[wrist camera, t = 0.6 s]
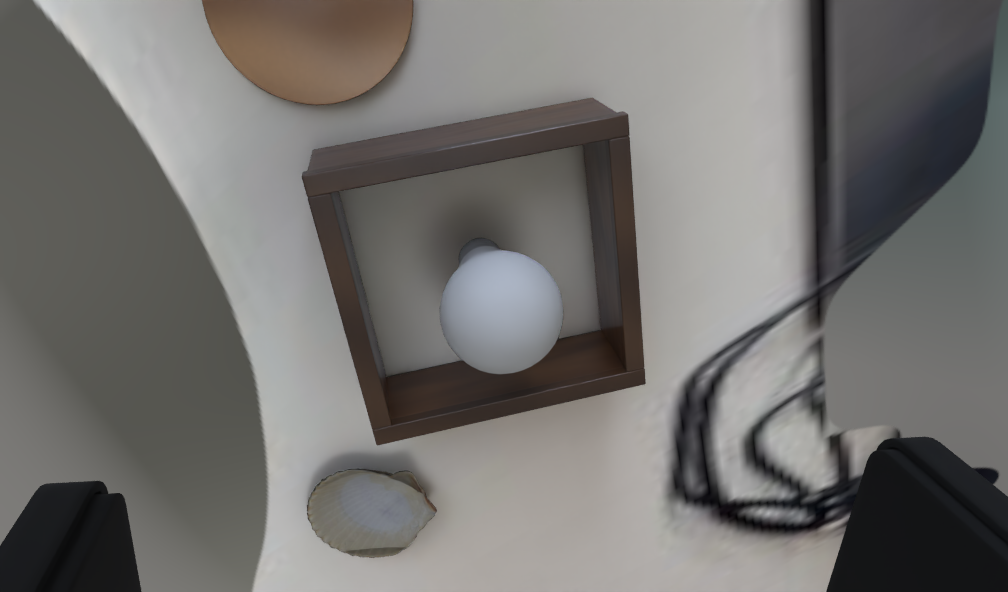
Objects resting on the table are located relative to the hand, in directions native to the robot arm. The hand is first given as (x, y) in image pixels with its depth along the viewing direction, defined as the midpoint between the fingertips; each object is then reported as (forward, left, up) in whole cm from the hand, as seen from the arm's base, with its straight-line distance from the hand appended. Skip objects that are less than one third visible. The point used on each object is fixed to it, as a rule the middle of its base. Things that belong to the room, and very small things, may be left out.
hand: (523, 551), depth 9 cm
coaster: (-5, -3, -33) cm, 33 cm away
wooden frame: (+10, +3, -33) cm, 34 cm away
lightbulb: (+10, +3, -33) cm, 34 cm away
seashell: (+26, -7, -33) cm, 42 cm away
